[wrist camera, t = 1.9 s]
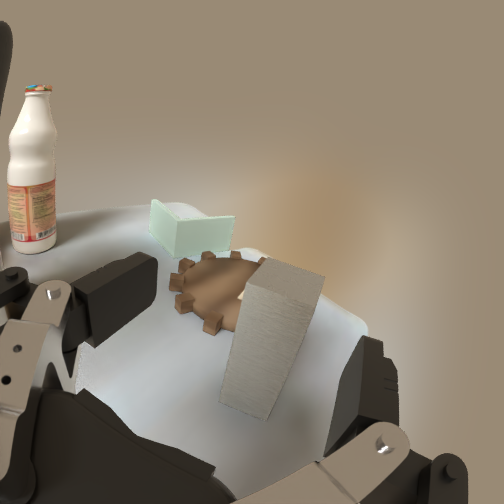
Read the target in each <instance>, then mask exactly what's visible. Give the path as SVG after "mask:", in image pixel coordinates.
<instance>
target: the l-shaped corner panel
mask: <svg viewBox="0 0 504 504" xmlns="http://www.w3.org/2000/svg"><path fill="white" fill-rule="evenodd" d="M234 222H235V217H234V216H217V217H202V218H188V219H180V218H179V217H178V216H176V215H175V214H174V213H173V212H172V211H170V210H169V209H168V208H167V207H165V206H164V205H163V204H162V203H161V202H159V201H158V200H157V199H152V202H151V212H150V224H149V233H150V234H151V235H152V236H153V237H154V238H155V239H156V240H157V241H158V243H159V244H160V245H161V246H162V247H163V248H164V249H165V250H166V251H167V252H168V253H169V255H170V256H171V257H172V258H173V259H175V258H182V257H189V256H196V255H202V252H204V251H211V252H212V253H216V252H223V251H229V248H230V243H231V238H232V232H233V227H234Z"/></svg>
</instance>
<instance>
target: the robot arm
mask: <svg viewBox="0 0 504 504" xmlns="http://www.w3.org/2000/svg"><path fill="white" fill-rule="evenodd" d="M12 48H13V38H12V32H11V29H10V27H9V25H8V24H7V23H5V22H4V21H0V114H1V108H2V102H3V97H4V91H5V87H6V83H7V78H8V74H9V69H10V62H11V58H12ZM157 270H158V262H157V259H156V258H154V257H152V256H149V255H147V254H144V253H142V252H137V253H135V254H133V255H131V256H129V257H127V258H125V259H121V260H117V261H113V262H111V263H109V264H107V265H105V266H104V267H101V268H99V269H97V270H96V272H95V271H94V272H92V273H90V274H88V275H86V276H84V277H82V278H80V279H78V280H76V281H75V282H73V283H71V284H68V283H67V282H64V281H61V280H50V281H46V282H44V283H42V284H40V285H39V286H38V285H35V284H32V283H29V279H28V273H27V271H26V270H25V269H24V268H21V267H11V268H7V269H5V270H4V267H3V261H2V256H1V250H0V504H358V503H360V504H468V472H467V468H466V466H465V464H464V462H463V461H462V460H461V459H460V458H459V457H457V456H456V455H453V454H450V453H444V454H441V455H439V456H437V457H436V458H435V459H434V460H433V461H432V460H430V459H428V458H426V457H424V456H422V455H420V454H418V453H416V452H414V451H412V450H411V449H410V443H409V439H408V437H407V435H406V434H405V432H404V431H403V430H402V429H401V428H399V396H398V384H397V383H398V376H397V369H396V367H395V366H394V364H393V362H392V360H391V359H389V358H385V357H383V355H384V353H383V342H382V341H380V340H377V339H374V338H370V337H367V336H364V335H363V336H362V337H361V338H360V340H359V342H358V343H357V345H356V347H355V349H354V351H353V353H352V355H351V357H350V359H349V361H348V362H347V364H346V366H345V368H344V370H343V372H342V375H341V378H340V381H339V386H338V391H337V397H336V402H335V407H334V412H333V417H332V421H331V426H330V430H329V435H328V439H327V443H326V447H325V451H324V455H323V457H326V458H325V459H324V460H322V461H320V462H317V461H315V462H312V463H310V464H308V465H306V466H305V467H303V468H301V469H299V470H298V471H296V472H294V473H292V474H291V475H289V476H287V477H285V478H283V479H281V480H279V481H278V482H276V483H274V484H272V485H270V486H268V487H266V488H264V489H262V490H260V491H257V492H255V493H253V494H251V495H249V496H247V497H244V498H242V499H240V500H237V499H236V498H235V496H234V495H233V494H232V492H231V491H230V490H229V489H228V488H227V487H226V486H225V485H224V484H223V483H222V482H221V481H219V480H218V479H217V478H215V477H214V476H213V475H214V471H215V468H216V467H215V466H213V465H211V464H208V463H206V462H204V461H202V460H200V459H198V458H196V457H194V456H191V455H189V454H187V453H185V452H183V451H182V450H180V449H177V448H174V447H170V446H167V445H164V444H160V443H157V442H154V441H151V440H148V439H145V438H142V437H139V436H137V435H136V434H134V433H133V432H132V431H131V430H130V429H129V428H128V427H127V425H126V424H125V423H124V422H123V421H122V420H121V419H120V418H119V417H118V416H117V415H116V413H115V412H114V411H113V410H112V409H111V408H110V407H109V406H107V405H106V404H105V403H103V402H102V401H100V400H99V399H98V398H96V397H95V396H94V395H92V394H91V393H90V392H88V391H87V390H86V389H85V388H84V389H82V390H81V391H80V392H79V393H78V394H77V395H76V391H75V386H76V379H77V373H78V367H79V361H80V356H81V350H82V348H81V343H83V342H84V341H85V342H87V343H88V344H90V345H91V346H92V347H94V348H96V347H97V346H99V345H100V344H101V343H102V342H104V341H105V340H106V339H108V338H109V337H110V336H112V335H113V334H114V333H115V332H117V331H118V330H119V329H121V328H122V327H123V326H124V325H126V324H127V323H128V322H130V321H131V320H132V319H134V318H135V317H136V316H138V315H139V314H140V313H141V312H143V311H144V310H145V309H147V308H148V307H149V306H150V305H151V304H152V303H153V301H154V299H155V296H156V290H157Z"/></svg>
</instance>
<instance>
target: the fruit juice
mask: <svg viewBox="0 0 504 504" xmlns="http://www.w3.org/2000/svg"><path fill="white" fill-rule="evenodd" d="M51 91H52V86H51V85H34V86H27V87H26V90H25V96H26V100H25V103H24V105H23V107H22V110H21V112H20V115H19V117H18V119H17V122H16V124H15V126H14V128H13V129H12V131H11V133H10V136H9V149H10V154H11V158H10V162H9V165H8V171H7V185H8V186H7V187H8V208H9V220H10V230H11V239H12V244H13V247H14V249H15V250H16V251H17V252H20V253H23V254H35V253H40V252H43V251H46V250H48V249H50V248H51V247H52V246H53V245H54V244H55V242H56V213H55V177H56V170H55V169H56V167H55V159H54V157H53V151H54V147H55V144H56V141H57V130H56V127H55V125H54V122H53V119H52V115H51V110H50V104H49V95H51Z"/></svg>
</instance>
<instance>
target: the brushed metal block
mask: <svg viewBox="0 0 504 504" xmlns="http://www.w3.org/2000/svg"><path fill="white" fill-rule="evenodd" d="M324 279H325V277H324V276H321V275H318V274H315V273H312V272H310V271H307V270H304V269H301V268H298V267H295V266H292V265H289V264H287V263H284V262H280V261H278V260H275V259H272V258H269V257H268V258H267V259H266V260H265V261H264V262H263V263H262V265H261V266H260V267H259V268H258V269H257V270H256V271H255V273H254V274H253V275H252V276H251V277H250V278H249V279H248V281H247V282H246V285H245V290H244V294H243V298H242V303H241V307H240V311H239V316H238V320H237V324H236V329H235V333H234V337H233V341H232V346H231V350H230V354H229V359H228V363H227V367H226V372H225V376H224V380H223V384H222V389H221V393H220V397H219V402H221V403H223V404H225V405H227V406H230V407H232V408H234V409H237V410H239V411H241V412H244V413H246V414H249V415H251V416H253V417H256V418H259V419H261V420H264V421H267V418H268V416H269V414H270V412H271V410H272V408H273V406H274V404H275V402H276V400H277V397H278V395H279V393H280V391H281V389H282V387H283V384H284V382H285V380H286V378H287V376H288V373H289V371H290V369H291V366H292V364H293V362H294V359H295V357H296V355H297V352H298V350H299V348H300V345H301V343H302V341H303V338H304V336H305V333H306V331H307V328H308V326H309V323H310V321H311V318H312V316H313V313H314V311H315V308H316V305H317V302H318V299H319V296H320V292H321V289H322V286H323V282H324Z"/></svg>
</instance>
